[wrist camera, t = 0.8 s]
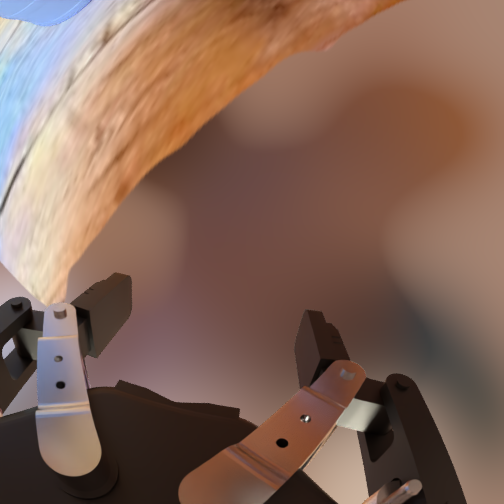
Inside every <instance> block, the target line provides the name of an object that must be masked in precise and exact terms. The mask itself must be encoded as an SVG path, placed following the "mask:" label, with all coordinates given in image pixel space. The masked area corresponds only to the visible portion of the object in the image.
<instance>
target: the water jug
mask: <svg viewBox="0 0 504 504" xmlns="http://www.w3.org/2000/svg"><path fill="white" fill-rule="evenodd" d="M90 1H91V0H0V17H2V18H6V19H17V20H22V21H27V22H31V23H33V24H36V25H40V26H52V25H56V24H58V23H61V22H63V21H65V20H67V19H69V18H70V17H72V16H73V15H75V14H76V13H77V12H79V11H80V10H81V9H82V8H84V7H85V6H86V5H87V4H88V3H89V2H90Z"/></svg>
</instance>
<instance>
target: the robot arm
mask: <svg viewBox="0 0 504 504" xmlns="http://www.w3.org/2000/svg"><path fill="white" fill-rule="evenodd" d="M131 310H132V281H131V277H130V276H129V275H125V274H120V273H114V274H113V275H111V276H110V277H109V278H107V279H106V280H102V281H100V282H97V283H95V284H94V285H92V286H91V287H90V288H89V289H87V290H86V291H85V292H84V293H82V294H81V295H80V296H79V297H77V298H76V299H75V300H74V301H72V302H71V303H70V304H68V303H55V304H52V305H50V306H48V307H47V308H46V310H45V312H42V311H35V310H32V306H31V302H30V300H29V299H27V298H24V297H16V298H12V299H10V300H8V301H7V302H5V303H4V304H3V305H1V306H0V504H338V503H337V502H336V501H335V500H333V499H332V498H331V497H330V496H329V495H328V494H327V493H325V492H324V491H323V490H322V489H321V488H320V487H319V486H318V485H317V484H316V483H315V482H314V481H313V480H312V479H311V478H310V477H308V475H307V474H306V473H305V472H304V469H305V468H306V467H307V466H308V464H309V463H310V462H311V461H312V459H313V458H314V457H315V455H316V454H317V453H318V452H319V450H320V449H321V448H322V447H323V445H324V444H325V443H326V441H327V440H328V439H329V437H330V436H331V435H332V433H333V432H334V431H335V429H336V428H337V426H341V427H345V428H349V429H353V430H357V435H358V439H359V444H360V449H361V454H362V459H363V465H364V470H365V475H366V481H367V487H368V493H369V498H367V499H366V500H365V501H364V502H363V503H362V504H467V503H466V500H465V497H464V494H463V491H462V488H461V485H460V482H459V480H458V477H457V475H456V472H455V469H454V466H453V464H452V461H451V459H450V456H449V454H448V451H447V449H446V447H445V444H444V442H443V440H442V437H441V435H440V433H439V431H438V428H437V426H436V424H435V422H434V420H433V418H432V416H431V413H430V411H429V409H428V407H427V405H426V403H425V401H424V399H423V397H422V395H421V393H420V391H419V389H418V387H417V385H416V383H415V382H414V381H413V380H412V379H410V378H409V377H407V376H405V375H403V374H397V373H396V374H391V375H389V376H388V377H387V378H386V380H385V382H380V381H376V380H372V379H369V378H366V373H365V371H364V369H363V368H362V367H361V366H360V365H358V364H357V363H355V362H352V361H350V358H349V356H348V353H347V351H346V348H345V346H344V344H343V341H342V339H341V336H340V334H339V331H338V330H337V329H336V328H335V327H334V326H333V325H332V324H331V323H326V321H325V318H324V316H323V313H322V312H321V311H315V310H307V309H306V310H305V311H304V313H303V316H302V319H301V323H300V326H299V330H298V333H297V336H296V340H295V346H294V352H295V358H296V364H297V372H298V379H299V386H300V390H299V391H298V392H297V393H296V394H295V395H294V396H293V397H292V398H291V399H290V400H289V401H287V403H285V404H284V405H283V406H282V407H281V408H280V409H279V410H278V411H277V412H275V413H274V414H273V415H272V416H271V417H270V418H269V419H267V420H266V421H265V422H264V423H263V424H262V425H260V426H259V427H258V426H257V425H255V424H253V423H252V422H249V421H247V420H245V419H242V418H240V417H239V412H240V409H239V408H233V407H226V406H220V405H215V404H210V403H180V402H174V401H171V400H169V399H167V398H165V397H163V396H161V395H159V394H157V393H155V392H153V391H151V390H149V389H147V388H144V387H141V386H137V385H134V384H131V383H128V382H125V381H122V380H119V382H118V383H117V385H116V386H115V387H95V388H91V387H90V382H89V377H88V373H87V368H86V362H85V357H86V355H89V356H92V357H94V358H98V356H99V355H100V354H101V352H102V351H103V350H104V348H105V347H106V346H107V344H108V343H109V342H110V341H111V340H112V338H113V337H114V336H115V334H116V333H117V332H118V331H119V329H120V328H121V327H122V326H123V324H124V323H125V322H126V321H127V319H128V318H129V316H130V314H131ZM11 338H13V342H14V344H15V349H14V350H13V351H12V352H11V353H10V354H9V355H8V356H7V357H6V358H5V359H3V357H2V349H3V346H4V345H5V344H6V343H7V342H8V341H9V340H10V339H11ZM36 369H37V391H38V392H37V393H38V406H36V407H33V408H30V409H27V410H24V411H20V412H17V413H14V414H10V415H6V416H3V413H4V411H5V410H6V409H7V407H8V406H9V404H10V403H11V402H12V400H13V399H14V398H15V396H16V395H17V394H18V392H19V391H20V390H21V388H22V387H23V385H24V384H25V383H26V382H27V381H28V379H29V378H30V377H31V375H32V374H33V373H34V372H35V370H36Z"/></svg>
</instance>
